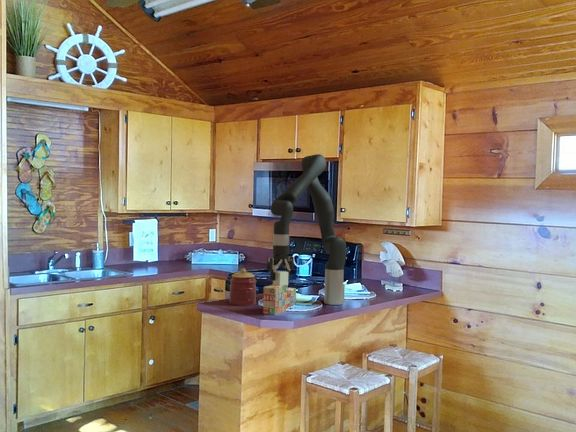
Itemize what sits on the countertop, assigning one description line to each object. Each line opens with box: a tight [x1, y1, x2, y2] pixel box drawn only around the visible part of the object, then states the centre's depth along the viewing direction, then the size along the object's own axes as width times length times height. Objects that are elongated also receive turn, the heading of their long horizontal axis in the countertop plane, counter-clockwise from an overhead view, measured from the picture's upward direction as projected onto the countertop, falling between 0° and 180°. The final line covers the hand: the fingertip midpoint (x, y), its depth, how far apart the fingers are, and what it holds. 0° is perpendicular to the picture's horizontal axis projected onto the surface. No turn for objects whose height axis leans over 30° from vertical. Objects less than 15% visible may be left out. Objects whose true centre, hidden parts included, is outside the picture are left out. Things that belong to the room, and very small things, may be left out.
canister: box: [228, 268, 257, 307], centre depth 267 cm, size 13×13×18 cm
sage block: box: [272, 270, 289, 286], centre depth 254 cm, size 5×5×6 cm
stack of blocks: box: [262, 283, 297, 316], centre depth 256 cm, size 21×6×12 cm, turn 153°
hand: (280, 279), depth 253 cm, fingers open, 7 cm apart
